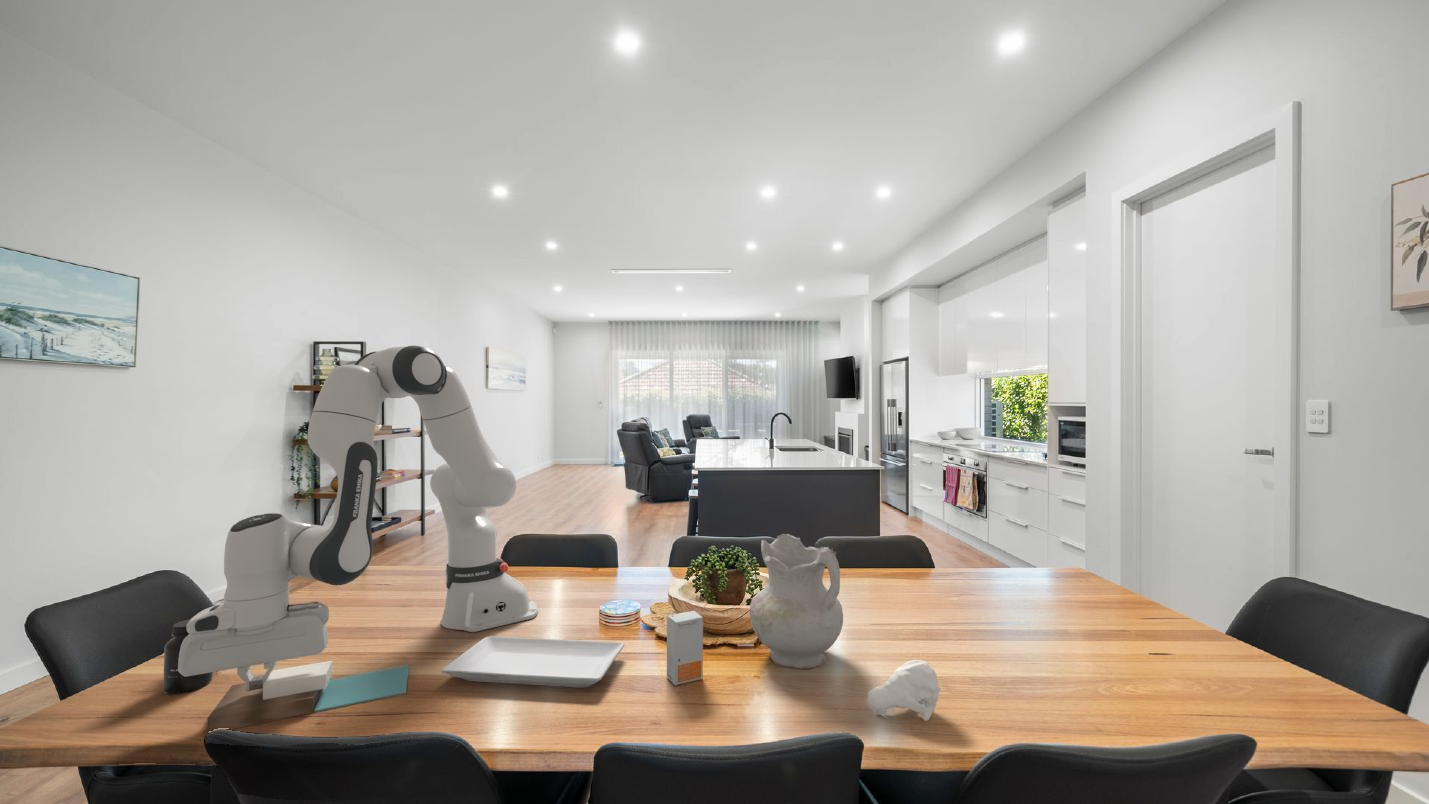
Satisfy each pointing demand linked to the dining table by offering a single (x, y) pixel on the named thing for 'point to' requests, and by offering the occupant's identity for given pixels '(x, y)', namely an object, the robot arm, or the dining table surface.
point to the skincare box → (684, 647)
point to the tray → (535, 661)
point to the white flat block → (297, 680)
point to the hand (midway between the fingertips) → (257, 688)
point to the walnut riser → (258, 707)
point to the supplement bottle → (172, 677)
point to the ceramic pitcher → (797, 603)
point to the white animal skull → (907, 690)
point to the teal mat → (363, 688)
